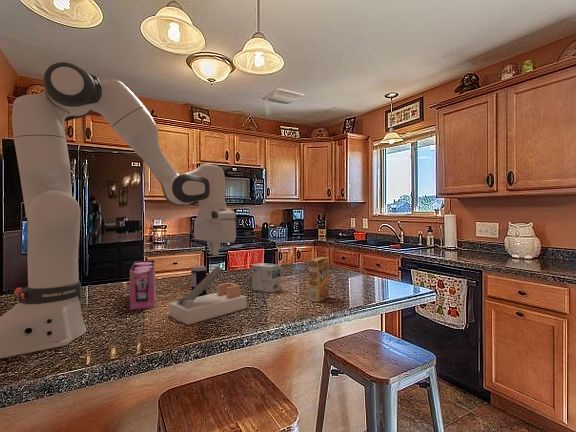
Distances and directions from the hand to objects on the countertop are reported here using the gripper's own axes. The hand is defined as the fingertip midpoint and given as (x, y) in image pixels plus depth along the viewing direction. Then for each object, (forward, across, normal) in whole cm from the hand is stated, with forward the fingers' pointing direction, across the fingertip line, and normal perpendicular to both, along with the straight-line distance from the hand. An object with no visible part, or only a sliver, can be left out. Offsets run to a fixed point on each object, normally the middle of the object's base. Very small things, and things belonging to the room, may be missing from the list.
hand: (214, 254), depth 109 cm
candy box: (+20, +17, +34) cm, 43 cm away
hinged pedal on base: (+19, 0, -2) cm, 19 cm away
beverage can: (+19, -18, +4) cm, 27 cm away
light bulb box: (+20, -8, +30) cm, 37 cm away
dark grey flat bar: (+10, 0, -5) cm, 11 cm away
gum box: (+19, -30, -12) cm, 38 cm away
